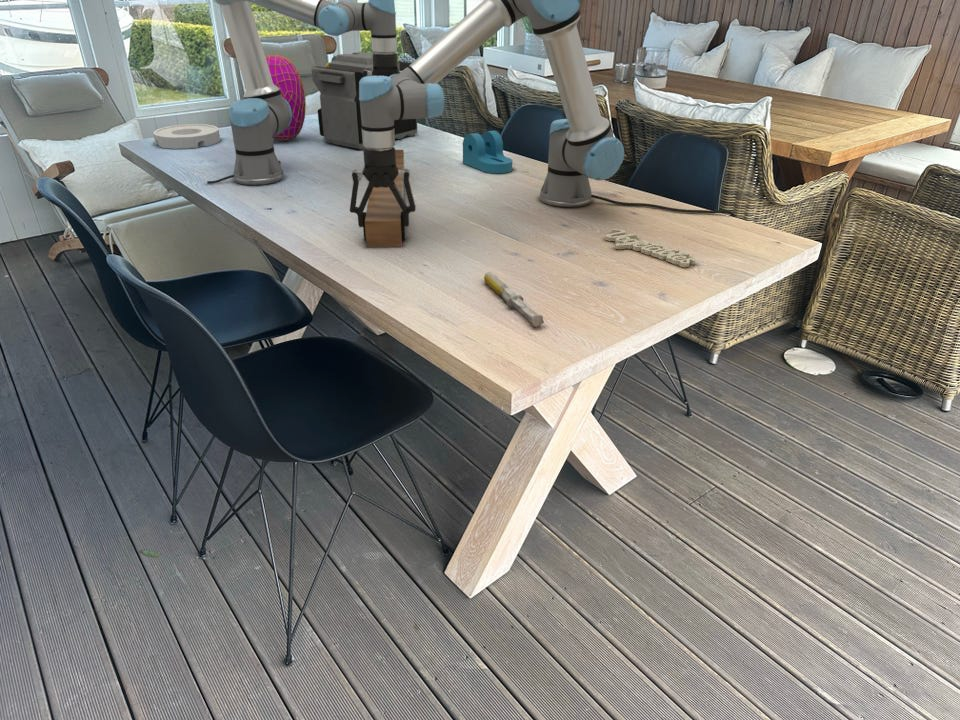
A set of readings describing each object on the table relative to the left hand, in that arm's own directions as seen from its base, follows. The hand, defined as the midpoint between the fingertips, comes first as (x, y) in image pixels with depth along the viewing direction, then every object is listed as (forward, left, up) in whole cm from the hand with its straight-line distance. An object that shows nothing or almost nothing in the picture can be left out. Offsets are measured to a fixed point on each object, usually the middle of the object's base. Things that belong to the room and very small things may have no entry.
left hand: (388, 125), depth 218 cm
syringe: (+17, -102, -15) cm, 105 cm away
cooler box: (-4, +50, -15) cm, 53 cm away
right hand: (-6, -61, -15) cm, 63 cm away
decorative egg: (-37, +53, -15) cm, 66 cm away
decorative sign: (+56, -79, -15) cm, 98 cm away
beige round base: (-72, +56, -15) cm, 93 cm away
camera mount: (+34, +3, -15) cm, 37 cm away
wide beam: (-3, -31, -15) cm, 34 cm away
